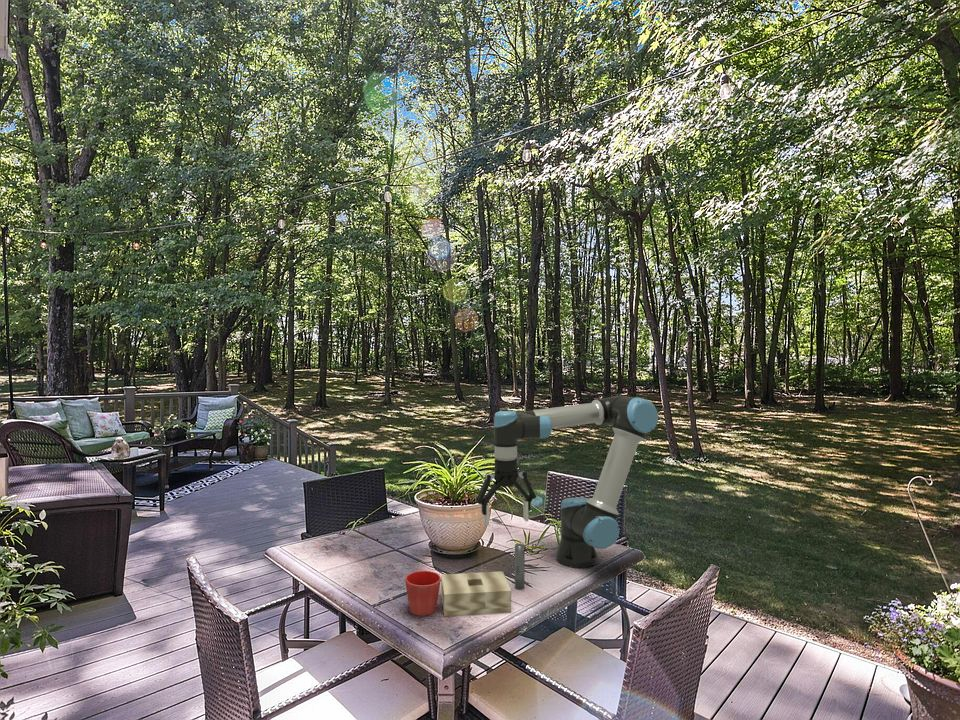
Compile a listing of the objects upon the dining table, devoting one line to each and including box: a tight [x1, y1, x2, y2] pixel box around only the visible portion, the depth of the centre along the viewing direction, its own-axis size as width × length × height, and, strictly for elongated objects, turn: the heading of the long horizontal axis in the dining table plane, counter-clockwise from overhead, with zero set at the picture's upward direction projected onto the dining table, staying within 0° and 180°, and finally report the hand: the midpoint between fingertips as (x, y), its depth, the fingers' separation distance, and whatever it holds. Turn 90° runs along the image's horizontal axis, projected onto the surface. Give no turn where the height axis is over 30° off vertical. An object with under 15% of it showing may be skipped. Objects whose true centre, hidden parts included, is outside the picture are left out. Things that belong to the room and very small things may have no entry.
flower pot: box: [405, 570, 441, 616], centre depth 158 cm, size 11×11×10 cm
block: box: [440, 570, 512, 617], centre depth 162 cm, size 20×14×6 cm
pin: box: [514, 543, 526, 590], centre depth 173 cm, size 3×3×14 cm
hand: (506, 522), depth 174 cm, fingers open, 13 cm apart
